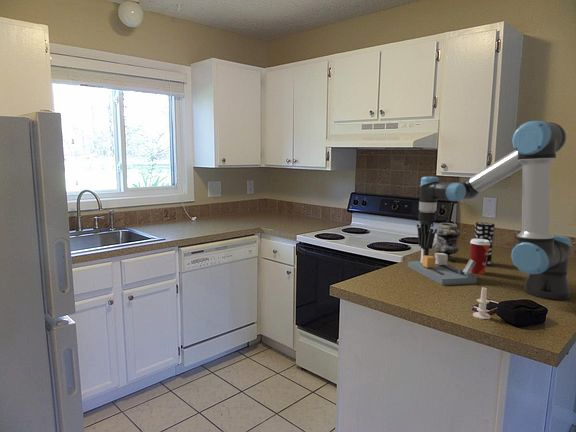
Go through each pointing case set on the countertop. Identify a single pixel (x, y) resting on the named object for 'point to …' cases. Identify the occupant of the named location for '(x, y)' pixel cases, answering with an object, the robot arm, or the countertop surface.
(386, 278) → the countertop surface
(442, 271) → the panel
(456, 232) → the apothecary jar
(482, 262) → the coffee cup
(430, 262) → the orange fader
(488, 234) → the white-spotted black cylinder
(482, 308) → the candle
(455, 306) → the countertop surface
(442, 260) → the block
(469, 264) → the paddle lever
